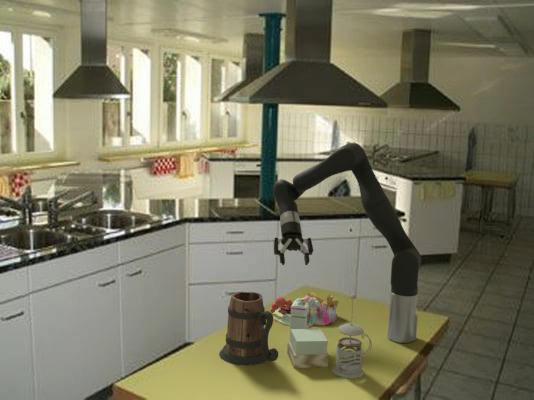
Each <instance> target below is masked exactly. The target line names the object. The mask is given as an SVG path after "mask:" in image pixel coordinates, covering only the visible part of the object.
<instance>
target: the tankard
mask: <svg viewBox="0 0 534 400" xmlns="http://www.w3.org/2000/svg"><path fill="white" fill-rule="evenodd" d="M265 309H266V308H265V306H264V300H263V295H262V294H261V293H258V292H254V291H250V292H249V291H248V292H247V291H239V292H235V293H233V294H232V295H231V297H230V301H229V304H228V306H227V314H228V315H227V328H226V329H227V330H226V334H225V342H226V343H225V344H224V346H223V347H222V348H221V350H220V351H219V353H218V354H219V355H218V356H219V358H220V359H221V360H223V361H224V362H226V363H228V364H231V365H235V366H245V367H246V366H249V367H251V366H256V365H261V364H263V363H266V362H267V363H272V362H275V361H277V360H278V358H279V351H278V349H277V348H275V347H273V348H270V349H269V347H270V346H269V335H270V330H271V329H272V327H273V324H274V319H273V315H272V313H271V311H270V310H266V311H265Z"/></svg>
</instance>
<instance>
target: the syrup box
mask: <svg viewBox="0 0 534 400" xmlns="http://www.w3.org/2000/svg"><path fill="white" fill-rule="evenodd" d="M292 303H293V304H292V306H291V322H290V326H289V327H290V328H289V334H290V333H291V329H310V327H309V302H305V301H295V300H294V301H292Z"/></svg>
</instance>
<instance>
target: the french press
mask: <svg viewBox="0 0 534 400" xmlns="http://www.w3.org/2000/svg"><path fill="white" fill-rule="evenodd" d="M349 299H351V300H356V299H357V296H356V294H354V293H353V294H350V296H349ZM351 308H352V309H351V314H353V313H354V312H353V311H354V310H353V309H354V302H352V306H351ZM350 318H351V320H350V323H344V324H341V325H339V326H338V327H337V330H338V332H339V333H340V334H342V335H344V336H349V337H342V338H340V339H338V344H336V346H337V347H336V361H335V362H336V365H335V366H334V367H333V368H332V372H333V373H334V374H335V375H336V376H338V377H340V378H344V379H345V378H346V379H358V377H359V378H361V377H363V376H364V374H365V371H364V370H363V367H362V366H363V358H365V357H366V356H368V355H369V354H370V353H371V351H372V348H373V343H372V339H371V338H370V335H368V334H367V333H365V330H364V328H363V327H361V325H358V324H356V323H353V317H350ZM358 336H361V338H362V339H364V337H367V338H368V341H369V343H370V344H369V346H368V348H367V350H366V351H365V352H364V353H363V348H362V344H363V343H362V341H361V339H358V338H355V337H358ZM342 348H343V349H342ZM366 353H367V354H366ZM365 354H366V355H365ZM362 375H363V376H362Z"/></svg>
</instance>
